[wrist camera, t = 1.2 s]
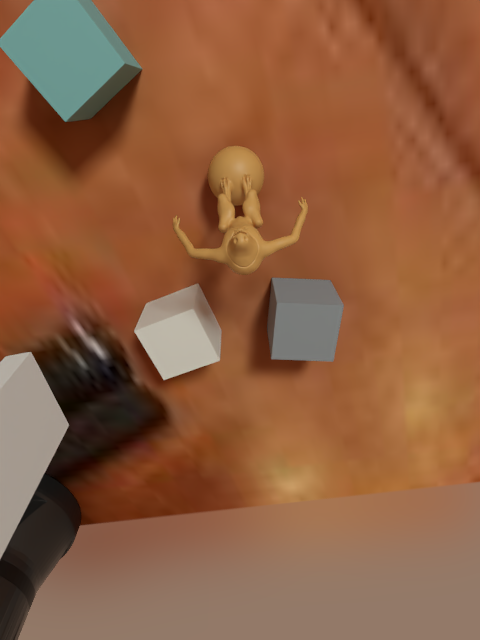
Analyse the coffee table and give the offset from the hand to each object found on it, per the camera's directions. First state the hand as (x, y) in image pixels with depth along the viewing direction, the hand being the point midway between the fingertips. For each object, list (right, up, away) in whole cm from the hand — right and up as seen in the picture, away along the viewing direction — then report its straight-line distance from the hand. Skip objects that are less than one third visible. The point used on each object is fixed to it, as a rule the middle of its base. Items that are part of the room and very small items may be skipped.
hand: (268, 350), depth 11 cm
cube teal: (-11, +18, +16) cm, 27 cm away
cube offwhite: (-6, +1, +25) cm, 26 cm away
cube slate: (+4, +2, +25) cm, 25 cm away
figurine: (-1, +11, +20) cm, 23 cm away
